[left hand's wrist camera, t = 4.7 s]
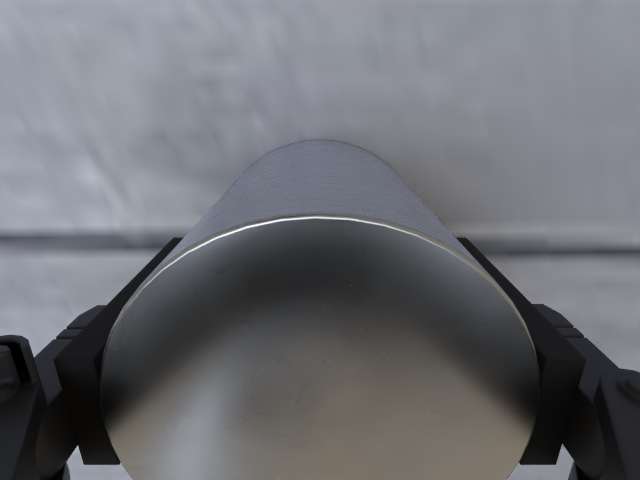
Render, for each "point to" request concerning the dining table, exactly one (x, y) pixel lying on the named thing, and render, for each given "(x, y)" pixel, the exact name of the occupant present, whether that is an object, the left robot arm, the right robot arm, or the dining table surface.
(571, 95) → the dining table surface
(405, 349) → the can
